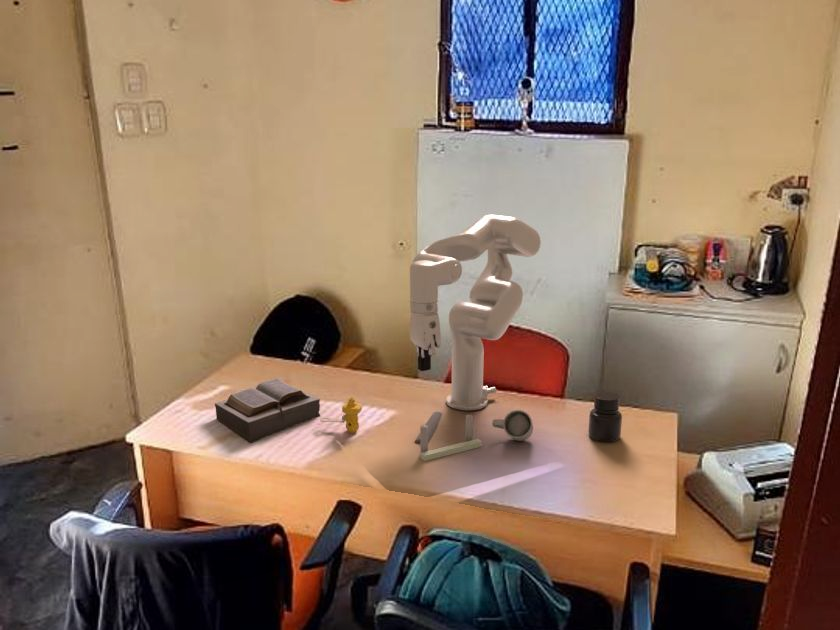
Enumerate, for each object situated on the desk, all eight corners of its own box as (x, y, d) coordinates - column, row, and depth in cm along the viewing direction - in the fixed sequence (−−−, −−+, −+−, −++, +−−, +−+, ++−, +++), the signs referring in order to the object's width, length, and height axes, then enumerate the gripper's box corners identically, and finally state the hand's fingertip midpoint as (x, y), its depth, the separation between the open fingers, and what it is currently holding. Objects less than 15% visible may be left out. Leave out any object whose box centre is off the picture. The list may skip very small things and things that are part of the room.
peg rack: (473, 440, 217) (473, 413, 215) (481, 446, 213) (482, 419, 211) (415, 454, 209) (415, 426, 207) (423, 461, 205) (424, 433, 203)
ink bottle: (623, 431, 223) (626, 391, 219) (621, 444, 215) (624, 403, 211) (588, 426, 226) (590, 387, 222) (584, 439, 218) (587, 399, 214)
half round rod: (413, 444, 216) (413, 438, 216) (431, 416, 234) (431, 410, 234) (428, 446, 215) (428, 440, 215) (444, 417, 233) (444, 412, 233)
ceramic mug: (525, 446, 217) (539, 422, 218) (522, 443, 209) (537, 418, 210) (492, 427, 220) (506, 403, 221) (488, 423, 213) (502, 398, 213)
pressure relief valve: (358, 436, 220) (357, 403, 217) (317, 432, 222) (316, 399, 219) (363, 428, 225) (363, 395, 222) (323, 424, 227) (322, 392, 224)
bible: (327, 425, 228) (326, 393, 225) (237, 447, 214) (235, 413, 211) (296, 398, 247) (294, 369, 244) (211, 417, 233) (208, 386, 230)
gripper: (449, 311, 208) (449, 375, 214) (422, 297, 221) (423, 359, 226) (425, 315, 205) (425, 380, 210) (399, 301, 217) (400, 363, 223)
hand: (424, 369), depth 218 cm, fingers closed
